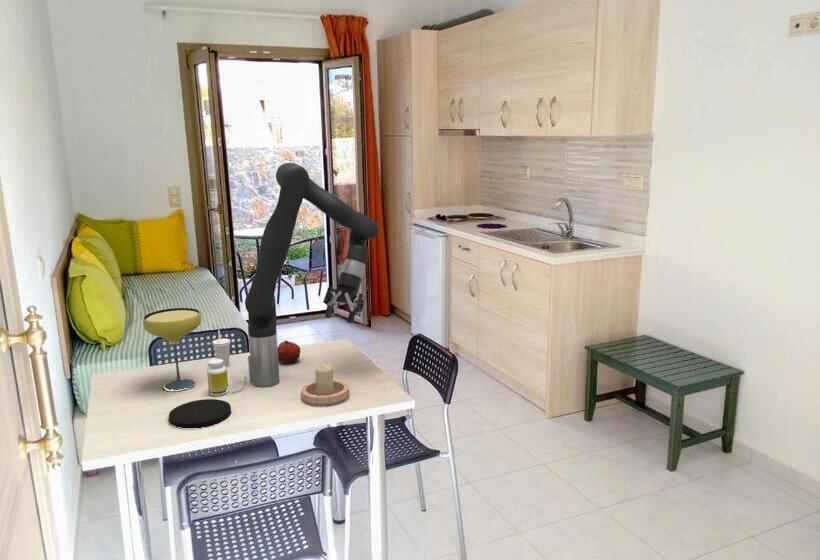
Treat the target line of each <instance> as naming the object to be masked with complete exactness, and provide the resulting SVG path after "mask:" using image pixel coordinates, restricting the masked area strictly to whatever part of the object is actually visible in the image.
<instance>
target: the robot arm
mask: <svg viewBox="0 0 820 560" xmlns="http://www.w3.org/2000/svg"><path fill="white" fill-rule="evenodd" d="M275 180H276V183H277V185H278V186H279V188H280V190H279V195H278V198H277V199H278V200H277V204H276V207H275V209H274V211H273V212H272V214H271V216H270V217H269V219H268V221H267V223H266V225H265V227H264V230H263V233H262V237H261V240H260V244H259V250H258V255H257V260H256V266H255V267H256V268H255V273H254V276H253V280H252V282H251V286H250V288H249V291H248V292H247V295H246V297H245V299H244V306H245V309H246V311H247V314H248V319H247V320H248V326H247V332H248V344H249V345H248V346H249V355H248V357H247V363H248V375H249V376H248V377H249V384H252V385H253V386H255V387H259V388H264V387H265V388H266V387H267V388H268V387H271V386H275V385H277V384H279V383H280V379H281V378H280V365H279V364H280V363H279V362H280V361H279V360H278V346H279V345H278V334H277V308H276V307H277V306H276V296H275V292H276V287H277V282H278V279H279V276H280V274H281V272H282V270H283V267H284V265H285V263H286V259H287V257H288V254H289V250H290V247H291V244H292V240H293V235H294V233H295V232H294V231H295V227H296V224H297V220H298V215H299V211H300V208H301V206H302V202H303V200H306V201H308V202H309V203H310V204H312V205H313V206H315V207H316V208H317V209H318V210H320V211H321V212H322V213H323V214H325V215H326V216H327V217H328V218H330V219H331V220H333V221H334V222H336V223H337V224H339V225H340V226H342V227H344V228H348V229H350V230H349V240H348V250H347V253H346V257H345V260H344V263H343V264H342V267H341V271H340V274H339V278H338V282H337V287H336V288H333V287H332V286H328V287H327V290H326V292H325V295H324V298H323V301H322V303H324V304H325V305H326V309H325V313H324V314H325V315H324V316H325V317H326V318H327V319H331V317H332V314H333V310H334V307H335V306H336V305H337V304H339V303H341V304H346V305H348V306H349V309H350V311H349V313H348V316H347V320H346V323H349V324H352V323H353V322H354V320H355V316H356V313H362V312H363V310H364V309H363V308H364V304H365V300H366V295H365V294H364V293H359V292H358V291H359V290H360V287H361V283H362V281H363V280H362V279H363V277H364V272H365V267H366V263H367V259H368V257H369V249H368V247H366V242H367V241H368V240H373V239H375V238H376V237H377V236H378V235H379V233H380V232H379V231H380V230H379V229H380V228H379V225H378V223H377V222H376V221H375V220H374V219H373V218H372V217H370V216H368V215H366V214H364V213H362V212H360V211H358V210H356V209H354V208H353V207H351V206H350V205H349V204H348V203H346V202H344V200H342V199H340V198H339V197H337V196H336V195H334V194H333V193H331V192H329V191H328V190H326V189H324V188H323V187H322V186H320V185H319V184H317V183H316V182H314V181H313V180H312V179H311V178H310V176H309V173H308V170H307V169H305V167H303V166H302V165H299V164H297V163H295V162H285V163H283V164H280V165H279V166H278V168H277V170H276V173H275ZM355 300H357V301H355ZM356 302H357V303H356Z"/></svg>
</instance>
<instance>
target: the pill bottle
mask: <svg viewBox="0 0 820 560" xmlns="http://www.w3.org/2000/svg"><path fill="white" fill-rule="evenodd" d="M223 365H224V360H223V359H217V358H213V359H210V360H209V361H208V368H207V371H206V376H207V384H208V393H209V395H211V396H212V395H213V397H219V396H220V395H221V396H224V395H226V394H225V392H226V390H227V387H228V388H229V380H228V369H227V368H228V367H225V366H223Z"/></svg>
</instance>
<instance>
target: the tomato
mask: <svg viewBox="0 0 820 560" xmlns="http://www.w3.org/2000/svg"><path fill="white" fill-rule="evenodd" d="M277 346H278V361H279V362H280V363H286V364H289V363H295V362H297V361H298V360H299V358H300V357H301V356H300V355H301V347H300V345H298V344H297V343H295V342H292V341H289V340H284V341H282V342H280V343H279V344H278V345H277Z"/></svg>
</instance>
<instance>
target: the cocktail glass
mask: <svg viewBox="0 0 820 560" xmlns="http://www.w3.org/2000/svg"><path fill="white" fill-rule="evenodd" d="M201 322H202V315H201V312H200V310H198V309H196V308H193V307H192V308H191V307H190V308H189V307H175V308H174V307H173V308H166V309H160V310H156V311H152V312H150V313H147V314H146V315H144V317H143V318H142V325H143V329H144V330H145V331H146V332H147V333H148V334H151V335H152V336H154V337H155V336H156V337H159V338H162V339H165V340H167V341H168V342H170V344H172V345H173V346H174V356H175V357H174V358H175V366H176V368H175V369H176V379H175V381H174V380H171V381H172V382H171V381H168V382H169V383H168V382H167V384H166V383H165V384H166V385H165V388H167V389H169V390H171V389H173V390H179V389H184V388H189V387H191V386H193V385H194V384H195V382H196V381H195V380H194V381H195V382H194V381H193V379H190V380H189V378H185V379H184V378H181V374H180V368H179V362H178V361H179V360H178V351H177V350H178V349H177V344H178V343H179V342H180V341H181V339H182V338H183V337H184V336H186V335H189V334H190V333H191V332H193V331H195V330H196V329H197V328H198V327H199V326H200V325H201ZM181 379H183V380H181Z"/></svg>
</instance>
